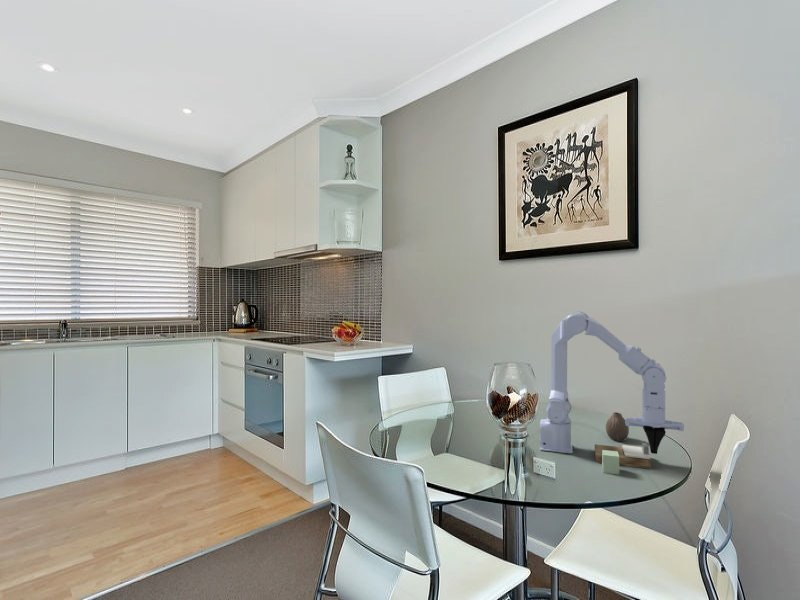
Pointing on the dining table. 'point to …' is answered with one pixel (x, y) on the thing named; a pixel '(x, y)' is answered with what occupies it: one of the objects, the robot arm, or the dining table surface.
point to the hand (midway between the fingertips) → (653, 452)
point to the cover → (636, 451)
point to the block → (610, 462)
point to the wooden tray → (622, 457)
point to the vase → (617, 427)
